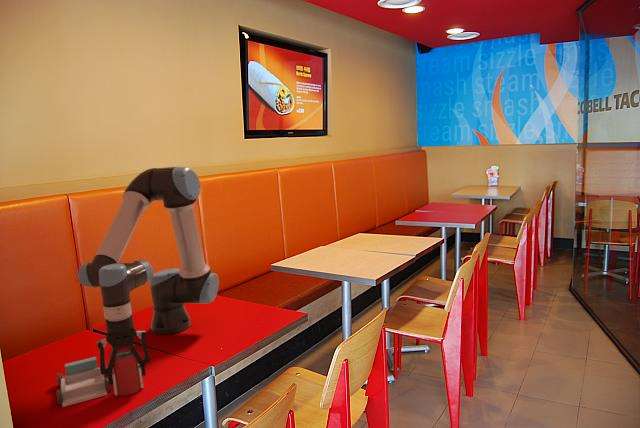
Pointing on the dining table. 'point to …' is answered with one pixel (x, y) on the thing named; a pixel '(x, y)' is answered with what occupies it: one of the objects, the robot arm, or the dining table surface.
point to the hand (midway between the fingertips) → (129, 389)
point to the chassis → (81, 382)
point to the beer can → (126, 373)
